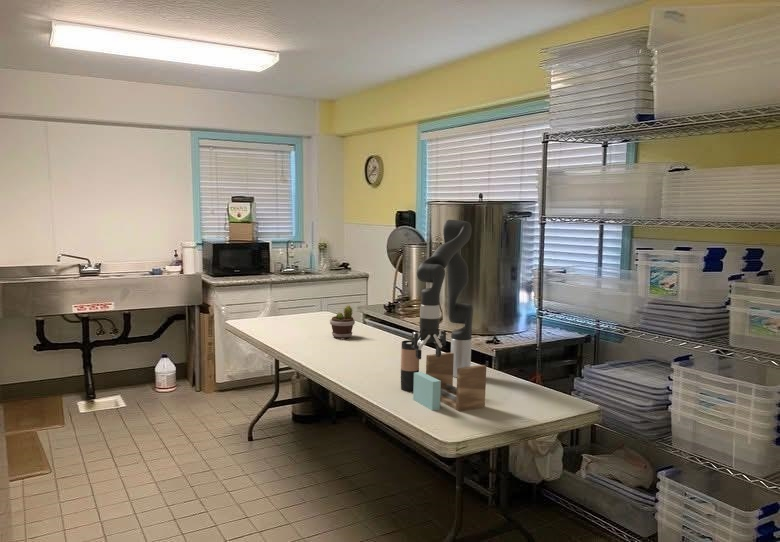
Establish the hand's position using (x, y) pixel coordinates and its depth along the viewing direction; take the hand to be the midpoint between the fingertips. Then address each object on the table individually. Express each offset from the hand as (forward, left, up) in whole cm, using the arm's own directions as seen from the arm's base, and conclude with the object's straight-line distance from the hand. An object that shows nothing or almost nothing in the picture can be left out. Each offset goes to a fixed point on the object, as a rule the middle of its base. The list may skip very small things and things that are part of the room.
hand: (428, 357), depth 226 cm
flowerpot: (-125, +19, -19) cm, 128 cm away
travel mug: (-20, +4, -19) cm, 28 cm away
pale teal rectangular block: (0, 0, -18) cm, 18 cm away
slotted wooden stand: (0, +13, -18) cm, 22 cm away
